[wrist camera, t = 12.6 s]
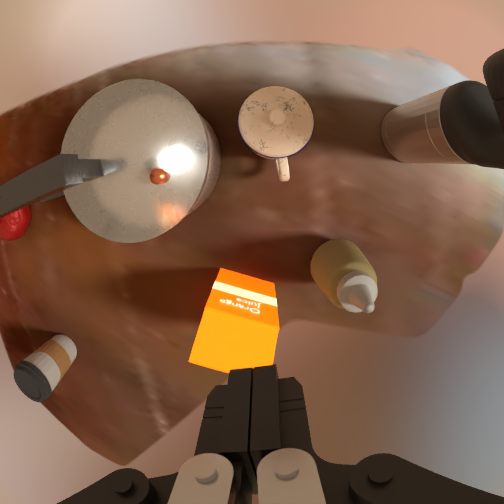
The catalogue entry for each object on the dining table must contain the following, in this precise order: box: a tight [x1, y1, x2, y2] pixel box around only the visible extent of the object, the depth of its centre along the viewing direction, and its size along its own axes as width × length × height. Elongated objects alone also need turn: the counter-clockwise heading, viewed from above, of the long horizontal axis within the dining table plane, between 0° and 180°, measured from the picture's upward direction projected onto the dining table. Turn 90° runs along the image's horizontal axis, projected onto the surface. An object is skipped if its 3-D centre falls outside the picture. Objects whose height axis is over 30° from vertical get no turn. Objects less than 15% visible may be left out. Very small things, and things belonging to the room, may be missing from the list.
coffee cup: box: [14, 334, 77, 402], centre depth 46 cm, size 8×8×15 cm
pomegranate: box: [0, 205, 31, 241], centre depth 41 cm, size 10×10×9 cm
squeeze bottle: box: [310, 238, 377, 313], centre depth 38 cm, size 8×8×18 cm
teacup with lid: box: [238, 86, 314, 181], centre depth 37 cm, size 12×9×12 cm
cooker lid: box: [0, 79, 210, 243], centre depth 27 cm, size 26×19×9 cm
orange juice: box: [189, 268, 279, 373], centre depth 39 cm, size 8×9×20 cm
